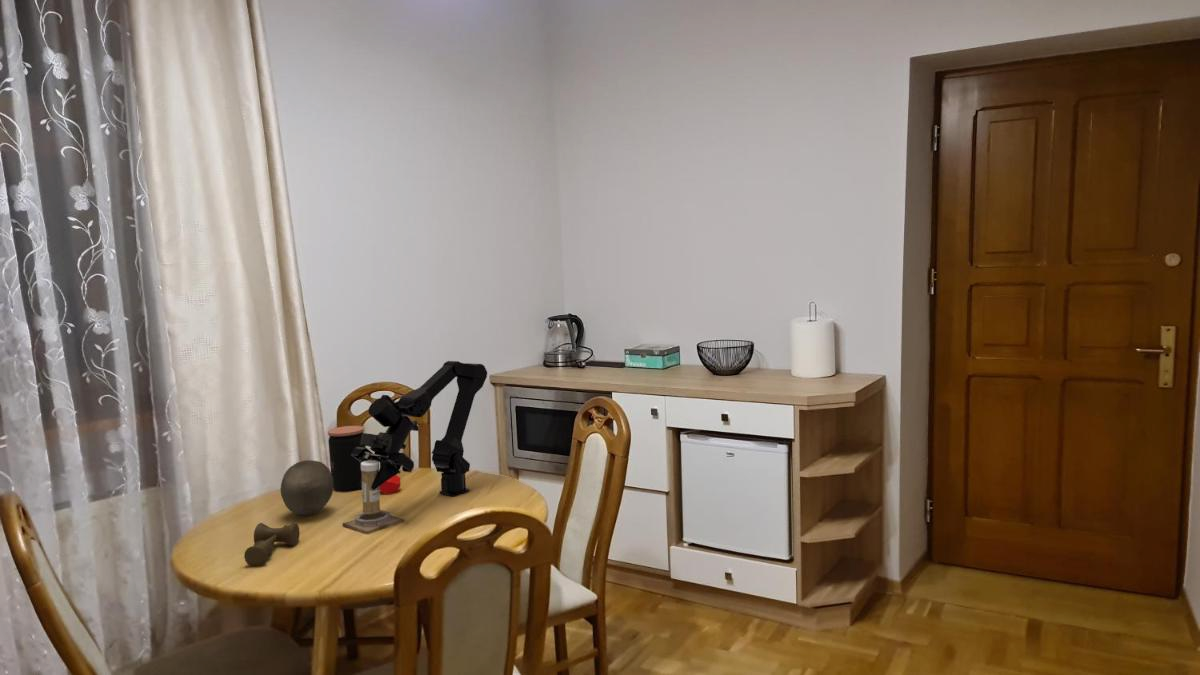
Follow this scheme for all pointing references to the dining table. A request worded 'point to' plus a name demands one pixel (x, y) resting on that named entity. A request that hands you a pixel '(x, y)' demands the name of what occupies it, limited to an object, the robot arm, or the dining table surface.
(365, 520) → the hub seat
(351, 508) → the dining table surface
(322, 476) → the dark grey ball
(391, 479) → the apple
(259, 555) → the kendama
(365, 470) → the sprinkles bottle
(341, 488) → the coffee jar
